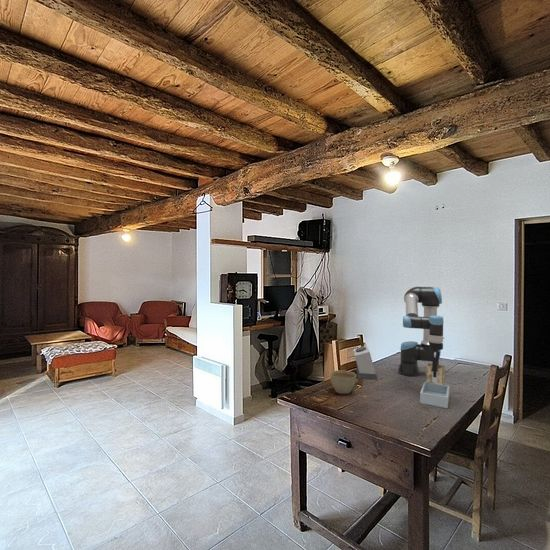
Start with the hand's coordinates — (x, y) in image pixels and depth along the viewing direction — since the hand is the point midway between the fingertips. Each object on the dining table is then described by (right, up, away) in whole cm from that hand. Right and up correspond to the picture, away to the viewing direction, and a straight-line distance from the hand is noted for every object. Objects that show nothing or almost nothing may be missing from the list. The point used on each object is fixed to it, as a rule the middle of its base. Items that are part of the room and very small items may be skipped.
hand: (435, 380), depth 196 cm
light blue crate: (0, -11, 0) cm, 11 cm away
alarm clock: (-29, -11, +47) cm, 56 cm away
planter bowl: (-52, -11, +12) cm, 55 cm away
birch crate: (0, 0, 0) cm, 0 cm away
